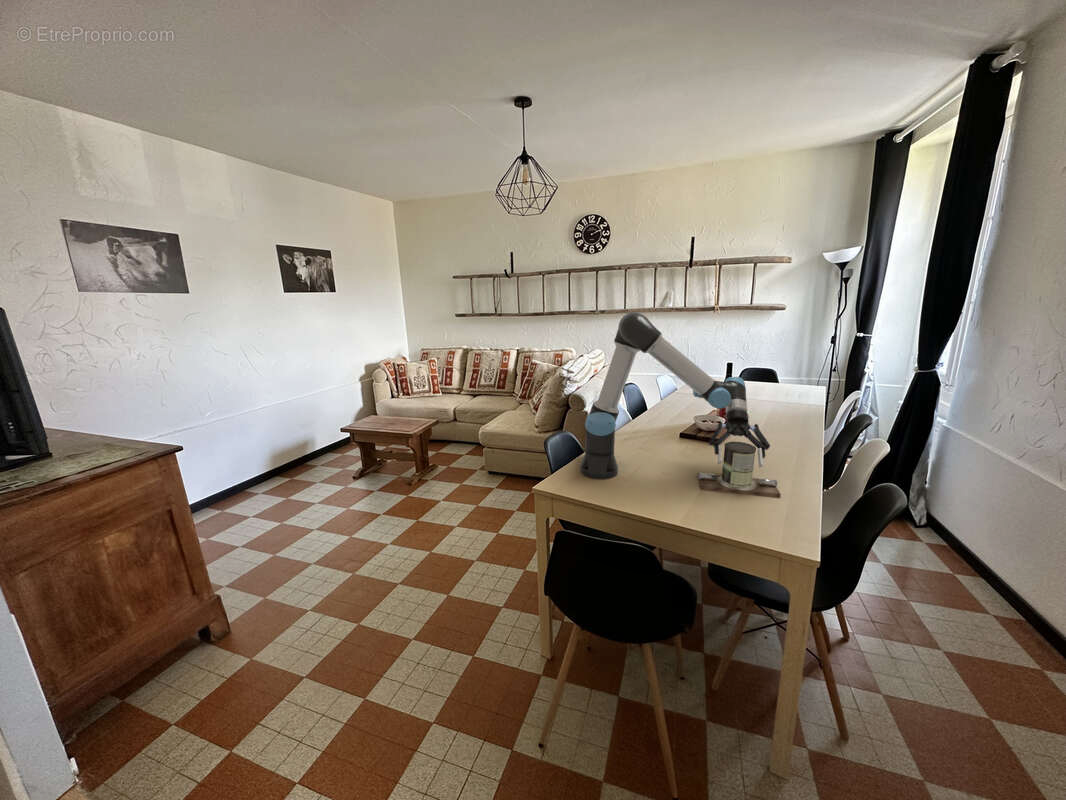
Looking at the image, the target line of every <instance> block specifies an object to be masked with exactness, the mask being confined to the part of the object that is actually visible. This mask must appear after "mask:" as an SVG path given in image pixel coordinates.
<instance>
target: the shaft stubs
mask: <svg viewBox="0 0 1066 800" xmlns="http://www.w3.org/2000/svg"><path fill="white" fill-rule="evenodd" d="M698 473H699V479H702V480H712V481H715V479H716V475H717V474H716V473H715V474H716V475H715V474H714V473H706V472H704V473H703V472H698ZM758 479H759V485H763V486H773V487H776V488H777V487H778V480H777V479H768V478H758Z"/></svg>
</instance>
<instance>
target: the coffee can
mask: <svg viewBox="0 0 1066 800" xmlns="http://www.w3.org/2000/svg"><path fill="white" fill-rule="evenodd" d="M723 450H724V452H723V459H722V460H723V461H722V469H721V472H722V473H721V475H722V478H721V481H722V482H723V483H725V484H727V485H729V486H732V487H738V488H747V487H750V486H751V485H752V478H753V474H754V473H753V472H754V466H755V459H756V458H755V457H756V451H757V447H756V446H755V445H754V444H750V443H747V442H743V441H729V442H725V443H724V449H723Z"/></svg>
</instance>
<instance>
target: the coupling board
mask: <svg viewBox="0 0 1066 800" xmlns="http://www.w3.org/2000/svg"><path fill="white" fill-rule="evenodd" d="M699 473H700V472H697V473H696V474H697V476H696V478H697V480H698V484H699V489H700V490H701V491H703V490H704V491H711V492H712V491H713V492H720V493H721V492H723V493H730V494H731V493H733V494H739V495H740V494H742V495H749V496H750V495H751V496H758V497H759V496H761V497H770V498H779V499H780V498H781V492H780V490H779V488H777V487H773V486H763V485H759V479H760V478H757V477H756V478H755V477H752V485H751V486H750V487H747V488H738V487H732V486H729V485H727V484H725V483H723V482H722V481H721V478H722V474H716V473H715V475H716V479H715V481H712V480H702V479H699Z"/></svg>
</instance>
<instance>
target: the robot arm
mask: <svg viewBox="0 0 1066 800" xmlns="http://www.w3.org/2000/svg"><path fill="white" fill-rule="evenodd" d="M613 343H614V344H615V348H614V351H613V355H612V358H611V360H610V364H609V366H608V370H607V372H606V375H605V379H604V381H603V384H602V387H601V390H600V393H599V395H598V396H599V397H598V399H597V400H595V401H593V403H592V406H591V408H590V411H589V413H588V414H587V416H586V418H585V422H584V428H585V431H584V433H585V435H584V436H585V437H584V439H585V440H584V455H583V458H582V460H581V463H580V473H581V474H582V475H583V476H585V477H587V478H592V479H598V480H604V479H605V480H606V479H611V478H614V477H616V476H618V473H619V467H618V463H617V460H616V456H615V444H616V443H615V440H616V439H615V438H616V437H615V435H616V426H617V425H616V422H617V419H618V416H619V413H620V410H619V407H618V405H619V402H620V401H621V398H622V394H623V392H624V389H625V386H626V383H627V381H628V378H629V374H630V372H631V370H632V366H633V364H634V361H635V357H636V356H637V353H638V352H640V351H641V352H642V353H643V354H649V355H650V356H651V357H653V359H655V360H656V361H657V362H658V363H660V365H662V366H664V367H665V368H666V369H667V370H668V371H669V372H670V373H672V374H673V375H675V376H676V377H677V378H678V379H679V380H680V381H682V382H683V383H684V384H686V386H687V387H689V388H690V389H691V390H692V394H693V396H694V397H695V398H698V399H703V400H704V401H706V402H707V403H708V404H709V405H710V406H712V408H715V409H717V410H718V409H724V408H725V413H726V414H725V418H726V423H723V422H722V421H719V422H718V423H717V428H716V430H715V431H714V433H713V435H712V436H711V438H710V440H709V443H708V445H709V446H713V448H714V449H713V450H714V455H717V464H718V465H720V464H721V463H722V462H723V461H722V460H723V459H722V443H723V442H724V441H725V440H726V439H727V438H728V437H730V436H733V437H735V436H736V437H737V436H738V437H743V436H744V438H746V439H747V440H748V441H750V442H751V443H752V445H753V446H755V447H756V449H757V450H756V451H757V452H756V453H757V461H758V468H762V467H763V466H764V459H765V458H766V451H768V450H769V448H770V447H771V445H770V444H771V443H769V442H768V440H767V438H766V437H765V435H764V434H763V433H762V431H761V430H760V428H759V424H757V423H755V424H754V425H752V424H751V425H750V423H749V414H748V405H747V404H748V403H747V389H746V388H747V387H746V382H745V380H744V379H743V378H742V377H740V376H733V377H732V376H730V377H727V378H726V379H725V380H724V381H720V380H715V379H713V378H712V377H711V376H710V375H708V373H706V372H705V371H704V370H703V369H701V368H700V367H699V366H698V365H697V364H695V363H694V362H692V360H690V359H689V358H688V357H687V356H686V355H684V354H683V353H682V352H681V351H679V350H678V348H676V347H675V346H673V345H672V343H670V342H669V341H667V339H665V338H664V337H663V333H662V331H660V330H659V329H658V328H656V326H655V325H653V323H652V322H651V321H650V320H649V318H648V317H647V316H646V315H644V314H642V313H640V312H636V311H633V312H629V313H626V314H625V315H624V316H623V317H622V318H621V319H620V320H619V323H618V329H617V331H616V334H615V337H614V340H613ZM724 428H725V429H726V431H725V432H724V433H723V434H722V435H721V436H720V437H719V438H718V436H719V434H720V433H721V430H724ZM751 431H752V432H753V433H754V435H755V436H754V435H753V434H752V432H751ZM717 438H718V439H717ZM716 439H717V440H716ZM715 440H716V441H715Z"/></svg>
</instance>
